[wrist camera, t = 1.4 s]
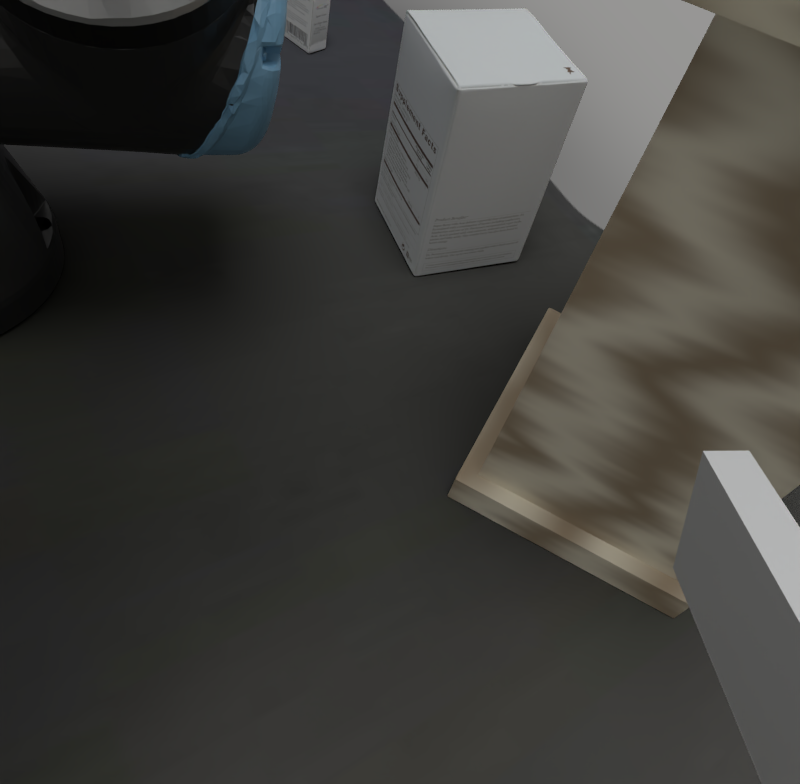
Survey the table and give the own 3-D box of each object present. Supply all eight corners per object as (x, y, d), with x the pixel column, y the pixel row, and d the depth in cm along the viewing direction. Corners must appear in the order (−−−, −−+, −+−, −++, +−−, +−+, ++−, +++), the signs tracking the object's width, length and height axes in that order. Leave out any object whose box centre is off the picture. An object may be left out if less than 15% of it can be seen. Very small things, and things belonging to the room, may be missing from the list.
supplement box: (473, 188, 59) (529, 4, 47) (519, 263, 54) (595, 80, 42) (370, 198, 56) (403, 4, 44) (410, 279, 51) (459, 86, 39)
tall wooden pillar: (447, 496, 41) (719, -86, 17) (539, 326, 50) (797, -199, 27) (673, 618, 39) (1340, 147, 15) (725, 417, 48) (1185, -67, 25)
